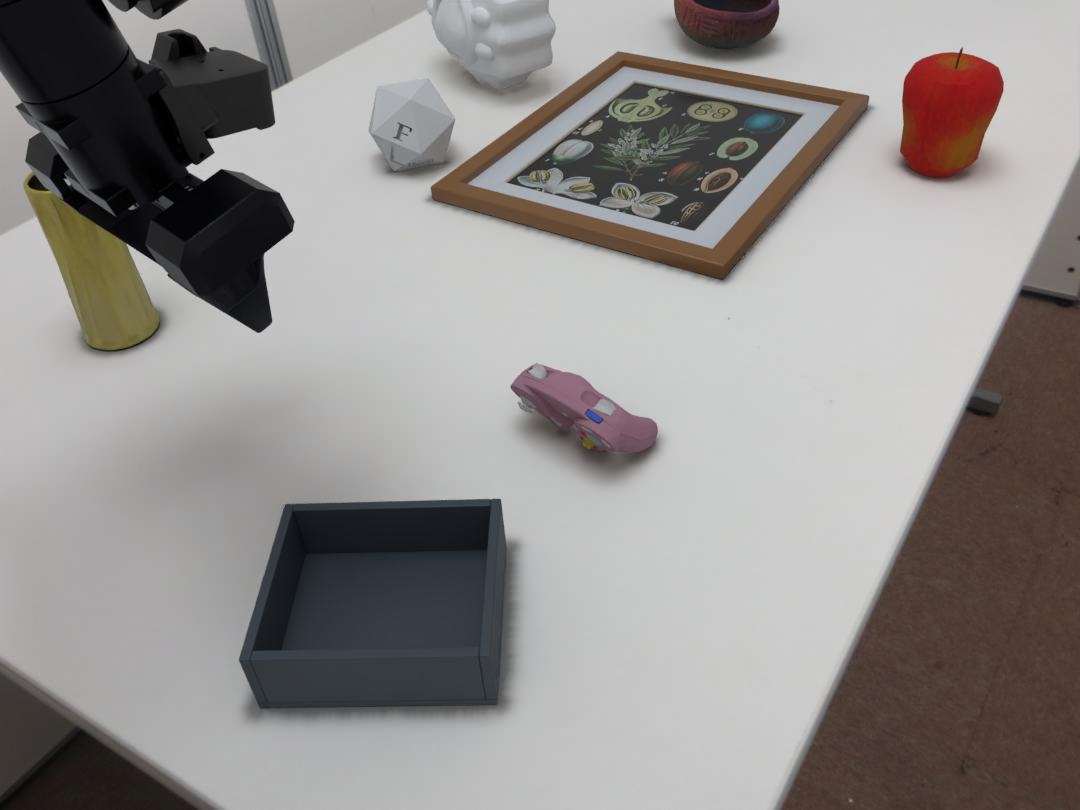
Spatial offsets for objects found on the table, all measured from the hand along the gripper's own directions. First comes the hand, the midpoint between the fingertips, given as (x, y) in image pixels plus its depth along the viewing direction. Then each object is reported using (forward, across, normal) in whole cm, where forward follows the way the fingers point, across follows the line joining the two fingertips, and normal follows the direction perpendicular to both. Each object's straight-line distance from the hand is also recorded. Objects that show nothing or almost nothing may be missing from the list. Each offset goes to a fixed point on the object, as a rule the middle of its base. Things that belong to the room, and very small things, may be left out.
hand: (222, 298), depth 59 cm
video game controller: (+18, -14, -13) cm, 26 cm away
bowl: (+33, +24, -75) cm, 86 cm away
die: (+23, +29, -32) cm, 49 cm away
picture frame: (+27, +10, -49) cm, 57 cm away
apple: (+30, -13, -63) cm, 71 cm away
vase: (+14, +24, +3) cm, 29 cm away
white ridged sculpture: (+27, +38, -51) cm, 69 cm away
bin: (+14, -16, +6) cm, 22 cm away
